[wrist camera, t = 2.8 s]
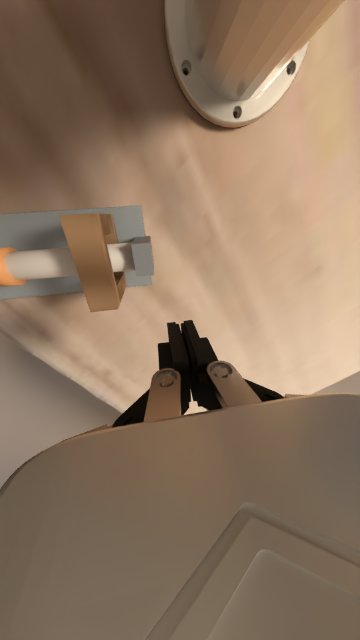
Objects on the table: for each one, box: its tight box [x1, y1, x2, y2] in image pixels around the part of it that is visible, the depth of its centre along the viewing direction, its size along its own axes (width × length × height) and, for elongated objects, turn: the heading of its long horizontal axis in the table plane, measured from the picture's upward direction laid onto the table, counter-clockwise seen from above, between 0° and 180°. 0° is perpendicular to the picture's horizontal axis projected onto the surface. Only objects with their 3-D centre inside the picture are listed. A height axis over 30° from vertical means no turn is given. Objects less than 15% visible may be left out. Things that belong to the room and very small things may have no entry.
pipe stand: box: [0, 206, 154, 300], centre depth 19 cm, size 9×21×8 cm, turn 93°
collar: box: [59, 213, 127, 312], centre depth 18 cm, size 8×2×7 cm, turn 3°
